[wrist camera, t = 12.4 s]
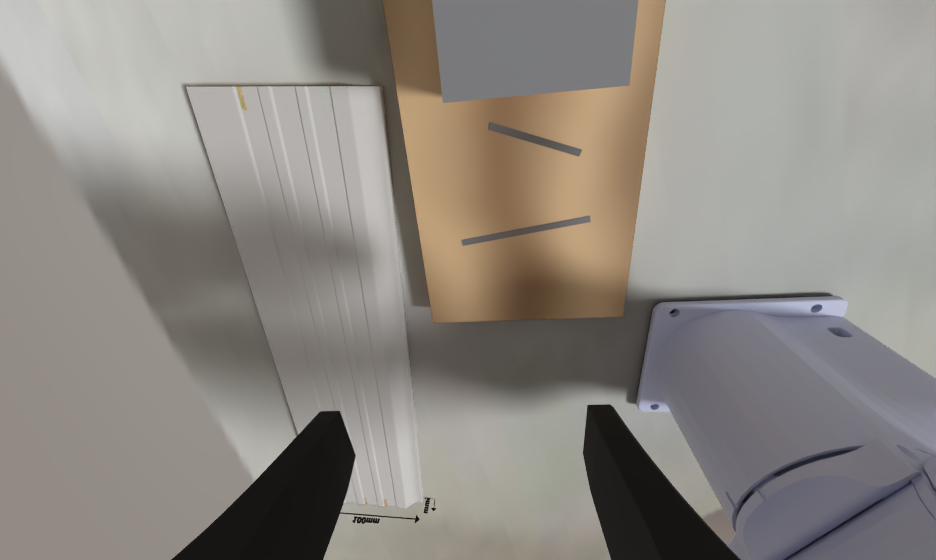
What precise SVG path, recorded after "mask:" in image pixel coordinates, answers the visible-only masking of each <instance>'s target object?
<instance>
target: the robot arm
mask: <svg viewBox="0 0 936 560" xmlns="http://www.w3.org/2000/svg"><path fill="white" fill-rule="evenodd" d="M814 305H815V307H813V306H814ZM812 307H813V308H812ZM847 307H848V302H847V301H846V300H844V299H843V298H841V297H838V296H826V297H798V298H770V299H742V300H715V301H687V302H663V303H659V304H657V305H656V306H655V307H654V309H653V312H652V318H651V323H650V329H649V335H648V340H647V346H646V351H645V357H644V363H643V368H642V374H641V379H640V385H639V391H638V396H637V402H636V405H637V407H638V409H639V410H640V411H642V412H671V413H672V415H673V417H674V419H675V421H676V422H677V424H678V426H679V428H680V430H681V432H682V434H683V435H684V437H685V439H686V441H687V443H688V445H689V447H690V448H691V450H692V452H693V454H694V456H695V458H696V460H697V461H698V463H699V465H700V467H701V469H702V471H703V473H704V474H705V476H706V478H707V480H708V482H709V484H710V486H711V487H712V489H713V491H714V493H715V495H716V497H717V499H718V500H719V502H720V504H721V506H722V508H723V510H724V512H725V513H726V515H727V517H728V519H729V521H730V523H731V524H732V526H733V528H734V530H735V532H736V535H735V537H734V539H733V540H732V541H731V542H730V543H729V544H728V545H726V544H725V543H724V542H723V541H722V540H721V539H720V538H719V537H718V536H717V535H716V534H715V533H714V531H712V529H711V528H710V527H709V526H708V525H707V524H706V523H705V522H704V521H703V519H702V518H701V517H700V516H699V515H698V514H697V513H696V512H695V510H694V509H693V508H692V507H691V506H690V505H689V504H688V503H687V501H686V500H685V499H684V498H683V497H682V496H681V495H680V493H679V492H678V491H677V490H676V489H675V487H674V486H673V485H672V484H671V483H670V481H669V480H668V479H667V478H666V477H665V475H664V474H663V473H662V472H661V470H660V469H659V468H658V467H657V465H656V464H655V463H654V462H653V461H652V459H651V458H650V457H649V455H648V454H647V453H646V452H645V450H644V449H643V448H642V446H641V445H640V444H639V442H638V441H637V440H636V438H635V437H634V436H633V434H632V433H631V432H630V430H629V429H628V427H627V426H626V425H625V423H624V422H623V420H622V419H621V418H620V416H619V415H618V413H617V412H616V410H615V409H614V407H612V406H611V405H588V407H587V418H586V428H585V438H584V449H583V455H584V460H585V466H586V471H587V476H588V481H589V486H590V490H591V494H592V498H593V501H594V504H595V508H596V511H597V514H598V518H599V521H600V524H601V527H602V531H603V534H604V537H605V540H606V544H607V547H608V550H609V554H610V557H611V560H936V378H934V377H933V376H931V375H930V374H928V373H927V372H925V371H924V370H922V369H920V368H919V367H917V366H916V365H914V364H913V363H911V362H910V361H908V360H907V359H905V358H904V357H902V356H901V355H899V354H898V353H896V352H895V351H893V350H892V349H890V348H889V347H887V346H886V345H884V344H883V343H881V342H880V341H878V340H877V339H875V338H874V337H872V336H871V335H869V334H868V333H866V332H865V331H863V330H862V329H860V328H859V327H857V326H856V325H854V324H853V323H851V322H850V321H848V320H847V319H845V318H844V317H843V316H844V313H845V311H846V309H847ZM674 309H677V310H676V311H675V312H674V313H670V311H672V310H674ZM653 404H654V405H653ZM355 457H356V455H355V452H354V449H353V446H352V444H351V441H350V438H349V435H348V432H347V430H346V427H345V424H344V421H343V418H342V416H341V413H340V411H320V412H319V413H318V414H317V415H316V416H315V417H314V418H313V419H312V421H311V422H310V423H309V424H308V425H307V426H306V427H305V428H304V429H303V430H302V431H301V432H300V434H299V435H298V436H297V437H296V438H295V439H294V440H293V441H292V442H291V443H290V444H289V446H288V447H287V448H286V449H285V450H284V451H283V452H282V453H281V454H280V455H279V456H278V457H277V459H276V460H275V461H274V462H273V463H272V464H271V465H270V466H269V467H268V468H267V469H266V470H265V471H264V472H263V473H262V474H261V475H260V477H259V478H258V479H257V480H256V481H255V482H254V483H253V484H252V485H251V486H250V487H249V488H248V489H247V490H246V491H245V492H244V493H243V494H242V495H241V496H240V497H239V498H238V499H237V500H236V501H235V502H234V503H233V504H232V505H231V506H230V507H229V508H228V509H227V510H226V511H225V512H224V513H223V514H222V515H221V516H219V517H218V519H216V520H215V521H214V522H213V523H212V524H211V525H210V526H209V527H208V528H207V529H206V530H205V531H203V533H201V534H200V535H199V536H198V537H197V538H196V539H194V540H193V541H192V542H191V543H190V544H189V545H188V546H187V547H185V548H184V549H183V550H182V551H181V552H180V553H179V554H177V555H176V556H175V557H174V558H173V559H172V560H323V558H324V555H325V553H326V550H327V547H328V544H329V542H330V539H331V536H332V533H333V531H334V528H335V525H336V522H337V520H338V517H339V514H340V511H341V508H342V506H343V503H344V500H345V497H346V494H347V491H348V487H349V483H350V479H351V475H352V471H353V466H354V462H355Z"/></svg>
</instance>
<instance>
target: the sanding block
mask: <svg viewBox="0 0 936 560" xmlns="http://www.w3.org/2000/svg"><path fill="white" fill-rule="evenodd" d="M432 4H433V14H434V23H435V33H436V42H437V52H438V61H439V71H440V80H441V90H442V99H443V103H449V102H460V101H471V100H481V99H492V98H503V97H513V96H524V95H535V94H545V93H556V92H567V91H577V90H588V89H599V88H609V87H620V86H630V76H631V67H632V57H633V48H634V38H635V29H636V19H637V10H638V0H432Z"/></svg>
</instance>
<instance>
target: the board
mask: <svg viewBox="0 0 936 560" xmlns="http://www.w3.org/2000/svg"><path fill="white" fill-rule="evenodd" d="M665 3H666V0H638V10H637V19H636V29H635V38H634V48H633V57H632V67H631V76H630V86H620V87H609V88H599V89H588V90H577V91H567V92H556V93H545V94H535V95H524V96H513V97H503V98H492V99H481V100H471V101H460V102H449V103H443V99H442V90H441V80H440V71H439V61H438V52H437V42H436V33H435V23H434V14H433V4H432V0H383V7H384V13H385V19H386V26H387V32H388V39H389V45H390V51H391V58H392V64H393V70H394V77H395V83H396V89H397V96H398V102H399V109H400V115H401V121H402V128H403V134H404V140H405V147H406V153H407V159H408V166H409V172H410V178H411V185H412V191H413V198H414V204H415V210H416V217H417V223H418V229H419V236H420V242H421V248H422V255H423V261H424V268H425V274H426V280H427V287H428V293H429V299H430V306H431V312H432V318H433V323H446V322H477V321H507V320H538V319H569V318H600V317H623V314H624V307H625V299H626V292H627V284H628V277H629V270H630V262H631V255H632V247H633V240H634V233H635V225H636V218H637V210H638V203H639V195H640V188H641V181H642V173H643V166H644V158H645V151H646V144H647V136H648V129H649V121H650V114H651V107H652V99H653V92H654V84H655V77H656V70H657V62H658V55H659V47H660V40H661V33H662V25H663V18H664V10H665Z"/></svg>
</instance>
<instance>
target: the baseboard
mask: <svg viewBox="0 0 936 560" xmlns="http://www.w3.org/2000/svg"><path fill="white" fill-rule="evenodd" d="M186 90H187V93H188V96H189V99H190V102H191V105H192V108H193V111H194V114H195V117H196V120H197V124H198V127H199V130H200V133H201V136H202V139H203V142H204V145H205V148H206V151H207V155H208V158H209V161H210V164H211V167H212V170H213V173H214V176H215V179H216V182H217V186H218V189H219V192H220V195H221V198H222V201H223V204H224V207H225V210H226V213H227V216H228V220H229V223H230V226H231V229H232V232H233V235H234V238H235V241H236V244H237V247H238V251H239V254H240V257H241V260H242V263H243V266H244V269H245V272H246V275H247V278H248V281H249V285H250V288H251V291H252V294H253V297H254V300H255V303H256V306H257V309H258V312H259V316H260V319H261V322H262V325H263V328H264V331H265V334H266V337H267V340H268V343H269V346H270V350H271V353H272V356H273V359H274V362H275V365H276V368H277V371H278V374H279V377H280V381H281V384H282V387H283V390H284V393H285V396H286V399H287V402H288V405H289V408H290V411H291V415H292V418H293V421H294V424H295V427H296V430H297V433H298V435H299V434H300V432H301V431H302V430H303V429H304V428H305V427H306V426H307V425H308V424H309V423H310V422H311V421H312V419H313V418H314V417H315V416H316V415H317V414H318V413H319V412H320V411H340V413H341V416H342V418H343V421H344V424H345V427H346V430H347V432H348V435H349V438H350V441H351V444H352V446H353V449H354V452H355V455H356V457H355V462H354V466H353V471H352V475H351V479H350V483H349V487H348V491H347V494H346V497H345V500H344V503H343V504H345V503H356V504H358V505H365V504H369V505H378V506H380V507H384V506H394V507H397V508H405V509H406V508H408V507H409V506H410V505H412V504H413V503H416V502H420V503H422V502H423V489H422V478H421V468H420V458H419V448H418V438H417V428H416V418H415V408H414V398H413V388H412V378H411V368H410V358H409V348H408V338H407V328H406V318H405V308H404V298H403V288H402V277H401V267H400V257H399V247H398V237H397V227H396V217H395V207H394V197H393V187H392V177H391V167H390V157H389V147H388V137H387V127H386V117H385V107H384V97H383V87H382V86H243V87H186ZM425 499H426V498H425ZM427 502H430V498H427V500H426V504H429V503H427ZM426 504H425V506H429V505H426ZM434 505H435V502H434ZM426 508H427V509H426ZM428 508H429V507H425V509H424V510H425V511H428ZM431 509H432V510H433V511H434V510H435V509H436V508H431ZM425 511H424V513H428V512H425ZM340 513H341V512H340ZM341 514H353V513H341ZM354 515H365V514H354ZM366 516H377V515H366ZM378 517H390V516H378ZM354 518H355V519H354V520H353V522H354V523H355V521H356V518H358V519H357V523H360V522H362V524H364V523H365V522H368V523H369V522H370V523H372V521H373V523H379V520H380V519H378V521H377V518H376V520H375V518H374V519H373V518H372V519H371V518H369V521H368V518H367V520H366V518H365V517H363V518H361V517H354ZM390 518H402V517H390ZM359 519H360V521H359ZM364 519H365V520H364ZM370 519H371V521H370ZM403 519H414V518H403ZM361 520H362V521H361ZM363 520H364V522H363ZM418 520H419V518H418V517H417V515H416V519H415V523H416V522H417V521H418ZM358 521H359V522H358Z"/></svg>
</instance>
